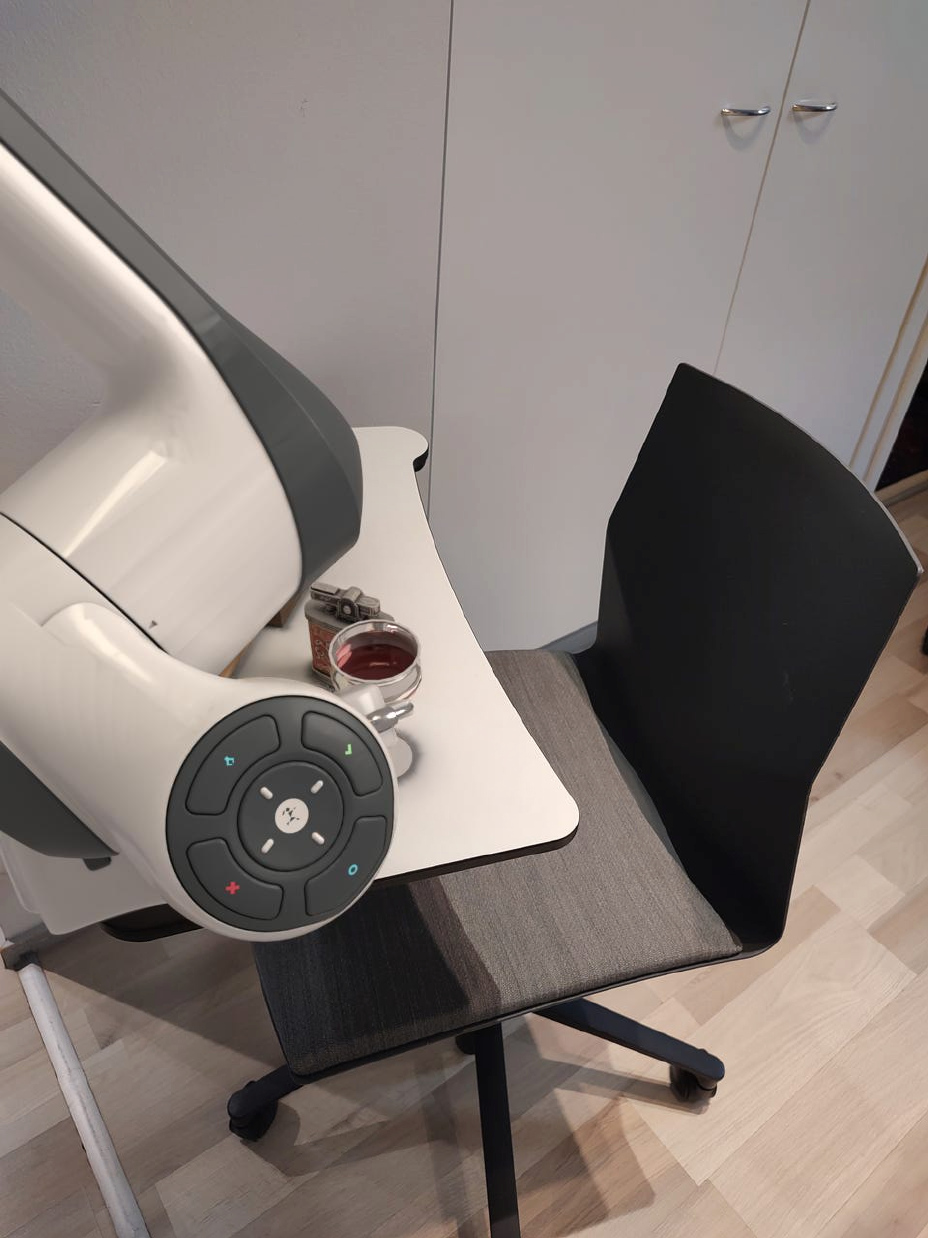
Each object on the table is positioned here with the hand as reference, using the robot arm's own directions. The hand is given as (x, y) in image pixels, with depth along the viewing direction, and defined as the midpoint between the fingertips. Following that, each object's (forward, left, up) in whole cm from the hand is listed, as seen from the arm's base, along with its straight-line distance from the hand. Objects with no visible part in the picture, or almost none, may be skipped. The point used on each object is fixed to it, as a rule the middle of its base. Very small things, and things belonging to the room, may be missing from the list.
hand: (194, 774), depth 53 cm
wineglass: (+7, +15, -14) cm, 21 cm away
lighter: (+2, +23, -14) cm, 27 cm away
